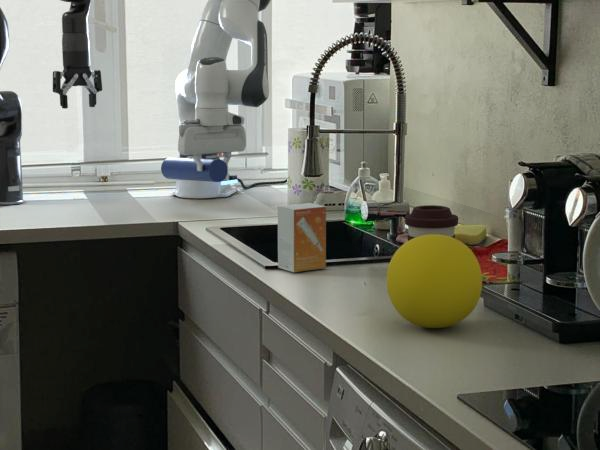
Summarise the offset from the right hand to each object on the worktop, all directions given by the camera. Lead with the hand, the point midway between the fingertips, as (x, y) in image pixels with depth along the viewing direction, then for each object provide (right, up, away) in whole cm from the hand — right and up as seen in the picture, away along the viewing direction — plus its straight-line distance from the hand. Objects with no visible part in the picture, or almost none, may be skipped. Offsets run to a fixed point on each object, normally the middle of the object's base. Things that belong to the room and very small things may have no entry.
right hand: (212, 170), depth 283 cm
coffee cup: (+48, -27, -85) cm, 101 cm away
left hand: (-39, +18, +13) cm, 45 cm away
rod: (-6, -3, +8) cm, 10 cm away
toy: (+45, -31, -113) cm, 126 cm away
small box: (+24, -24, -68) cm, 76 cm away
